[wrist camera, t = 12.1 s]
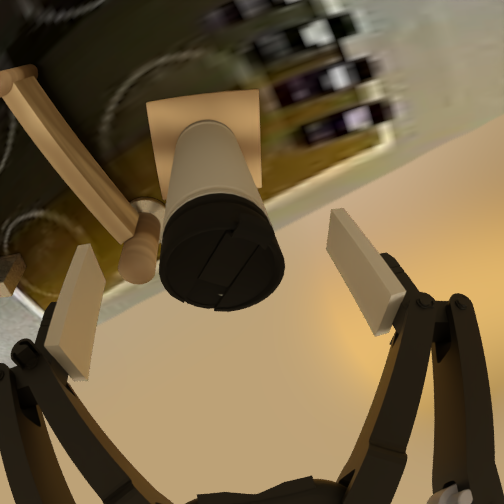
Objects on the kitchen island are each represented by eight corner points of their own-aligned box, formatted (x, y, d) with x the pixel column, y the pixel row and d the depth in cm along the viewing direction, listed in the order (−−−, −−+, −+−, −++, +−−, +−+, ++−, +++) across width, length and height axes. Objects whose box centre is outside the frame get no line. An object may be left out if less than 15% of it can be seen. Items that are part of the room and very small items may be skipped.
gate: (35, 55, 19) (-6, 63, 13) (167, 229, 34) (162, 273, 28) (13, 79, 20) (-29, 94, 14) (142, 244, 35) (134, 289, 29)
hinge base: (116, 201, 32) (114, 205, 32) (166, 193, 33) (166, 197, 32) (129, 244, 36) (128, 249, 35) (176, 237, 37) (175, 242, 36)
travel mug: (249, 131, 30) (317, 249, 14) (219, 184, 33) (249, 335, 17) (193, 106, 27) (190, 199, 12) (166, 162, 30) (141, 308, 15)
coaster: (147, 102, 27) (146, 102, 26) (257, 88, 28) (258, 89, 27) (163, 197, 33) (162, 200, 33) (260, 185, 34) (261, 187, 34)
